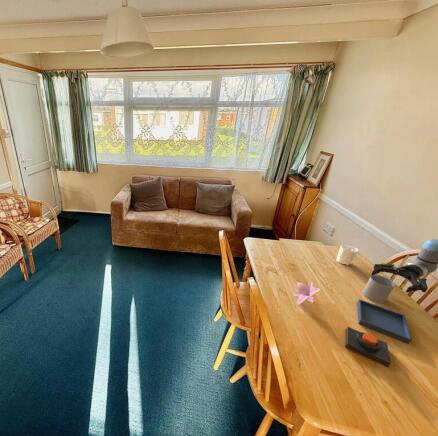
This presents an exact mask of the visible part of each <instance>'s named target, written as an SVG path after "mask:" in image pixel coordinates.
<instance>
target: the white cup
mask: <svg viewBox="0 0 438 436" xmlns="http://www.w3.org/2000/svg"><path fill="white" fill-rule="evenodd" d="M358 252H359V249H358V248H357V247H355V246H353V245H349V244H341V245H340V247H339V250H338V254H337V256H336V262H337V261H338V262H337V263H339V262H340V263H339V264H341V263H342V264H341V265H343V264H346V265H345V266H350V265H351V264H352V263H353V261H354V259H355V257H356V256H357V254H358ZM349 264H350V265H349Z"/></svg>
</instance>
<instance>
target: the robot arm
mask: <svg viewBox="0 0 438 436" xmlns="http://www.w3.org/2000/svg"><path fill="white" fill-rule="evenodd" d="M437 269H438V239H437V238H435V239H434V238H430V239H427V240H426V241H425V243H423V245H422V247H421V248H420V251H419V253H418V254H417V256H416V257H415V259H414V261H412V262H410V263H406V264H405V265H401V266H400V267H397V266H395V264H393V263H391V264H387V263H385V264H384V263H374V265H373V270H372V272H371V273H370V276H371V275H379V274H380V273H387V274H388V273H389V274H392V275H395V276H399V277H401V278H404V279H405V280H407V281H408V282H409V283H410V284H411V286H408V287H407V289H406V290H405V293H407V294H408V293H410V292H417V291H421V292H422V293H424V294H425V293H426V292H427V291H428V289H429V287H428V284H427V281H428V279H427V278H424V276H426V275H428V274H432V273H434V272H435V271H437ZM422 277H423V278H422Z"/></svg>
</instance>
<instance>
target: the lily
mask: <svg viewBox="0 0 438 436" xmlns="http://www.w3.org/2000/svg"><path fill="white" fill-rule="evenodd" d="M313 283H314V282H313V281H310V282H308V284H304V283H302V282H300V281H299V282H297V289H298V291H295V293H294V294H293V296H295V297H297V305H298V306H299V305H301V304H302V303H303V302H304V301H305V300H307V301H308V302H311V303H314V297H313V295H315V294H316V293H318V292H319V291H321V288H319V287H315V286H313Z"/></svg>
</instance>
